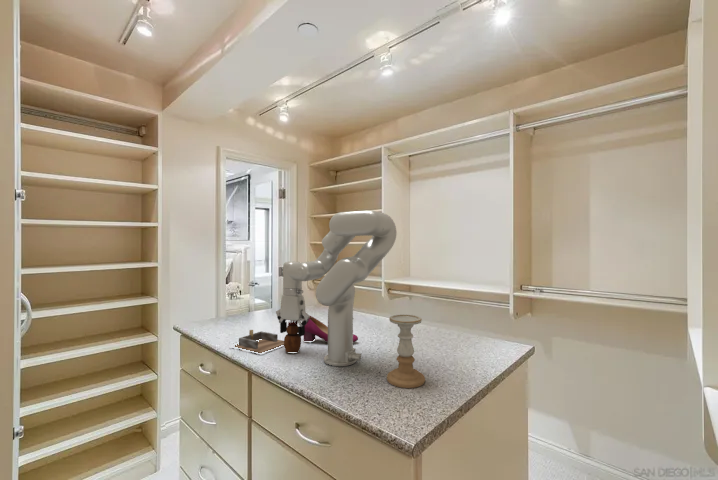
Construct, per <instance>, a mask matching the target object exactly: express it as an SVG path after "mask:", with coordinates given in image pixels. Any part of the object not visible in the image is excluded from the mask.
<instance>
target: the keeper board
mask: <svg viewBox="0 0 718 480" xmlns="http://www.w3.org/2000/svg"><path fill="white" fill-rule="evenodd" d="M248 334H249V335H244V336H241V337H239V338H238V342H239V345H238V344H237V346H236V345H235V347H238V348H242V349H246V350H250V351H254V352H258V353H262V352H265V351H268V350H271V349H274V348H276V347H279V346H281V345H284V340H281V339H278V337H279V336H278V334H277V333H271V332H266V331H258V332H254V329H249V333H248ZM259 339H262V340H259ZM256 340H259V342H258V341H256Z"/></svg>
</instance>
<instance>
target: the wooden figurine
mask: <svg viewBox="0 0 718 480" xmlns="http://www.w3.org/2000/svg"><path fill="white" fill-rule="evenodd" d="M298 327H299V324H298V322H297V321H291V320H289V321H288V322H287V329H286V330H287V331H286V335H285V336H284V340H283V341H284V347H283V348H284V350H285V352H286V353H287V352H297V353H299V352H300V351H301V344H302V336H301V337H299V336H298ZM298 351H299V352H298Z"/></svg>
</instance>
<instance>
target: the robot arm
mask: <svg viewBox="0 0 718 480" xmlns="http://www.w3.org/2000/svg"><path fill="white" fill-rule="evenodd" d="M328 225H329V226H328V227H329V232H328V233H326V235H324V237H323V238H322V239H321V245H322V247H323V251H322V252H321V254H320V255H319V256H318V257H317V258H316V259H315V260H311V261H301V262H300V261H285V262H284V263H283V266H282V270H283V271H282V272H283V274H282V295H281V301H280V308H279V309H278V310H276V311H275V314H276V316H277V317H276V318H277V320H278V323H279V332H280V334H284V333H287V330H286V329H287V326H288V322H287V321H297V322H298V324H297V325H298V333H297V334H298V336H299V337H301V338H302V337H304V335H305V325H306V324H307V323H308V320H309V318H310V316H311V315H309V314H308V312H307V311H306V302H305V296H304V295H303V293H304V290H303V282H309V281H314V280H318V279H321V278H322V279H321V280H320V281H319V283H318V284H317V286H316V288H315V297H316V300H317V301H318V303H319V304H321V305H322V306H324V307H325V306H326V307H328V310H327V327H328V343H327V354H326V355H324V357H323V362H324V363H325V364H326V365H328V364H329V365H328V366H331V365H332V366H331V367H347V366H351V365H353V364H355V363H357V362H360V361H361V360H362V353H359V352H356V351H357V349H356V348H355V347H354V342H353V334H354V302H355V297H356V296H355V294H356V289H355V285H354V284H358V283H361V282H363V281H365V280H366V279H367V278H368V277H369V275H371V273H372V272H373V271H374V269H376V268H377V266H379V264H380V262H381V261H382V260H384V258H385V257H386V256H387V255H388V254H389V252H390V251H391V249H392V248H393V247H394V244H395V242H396V239H397V234H398V233H397V226H396V223H395V222H394V219H393V218H392V217H391V216H390V215H388V214H387V213H384V212H380V211H377V210H357V211H355V210H354V211H340V212H337V213H334V214H333V216H332V217H331V218H330V220H329V223H328ZM357 236H358V237H360V236H361V237H362V236H364V237H365V236H370V237H371V238H369V239H368V241H366V242H365V243H364V244H363V245H362V247H361V248H360V249H359V250H358V251H357V252H356V253H355V254H354V255H353V256H347V257H344V258H341V259H339V260H338V258H339V255H340V254H341V252H342V251H344V249H345V248H347V246H348V245H349V244H350V243H351V242H352V240H354V239H355V238H356V237H357ZM337 260H338V261H337ZM304 319H305V320H304Z"/></svg>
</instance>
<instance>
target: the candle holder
mask: <svg viewBox="0 0 718 480" xmlns="http://www.w3.org/2000/svg"><path fill="white" fill-rule="evenodd" d="M388 319H389V320H388V321H389V322H390V323H392V324H395V325H397V327H398V328H399V333H398V334H397V337H398V339H399V342H398V345H397V348H396V352H397V354H398V356H396V362H397V363H398V367H396V368H394V369H392V370H391V371H389V372H388V373H387V375H386V380H387V383H389V384H390V385H392V386H393V387H397V388H402V389H414V388H415V389H416V388H419V387H422V386H423V385H425V382H426V377H425V375H424V374H423V373H422V372H420V370H419V371H418V370H417V369H416V368H414V367H413V366H414V365H413V364H414V362H415V360H416V359H415V357H414V356H413V355H414V353H415V348H414V346H413V341H412V340H413V338H414V335H413V334H412V328H413V327H414V325H419V324H421V323H422V321H423V319H422V317H421V316H418V315H413V314H395V315H391V316H390V317H389V318H388Z"/></svg>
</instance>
